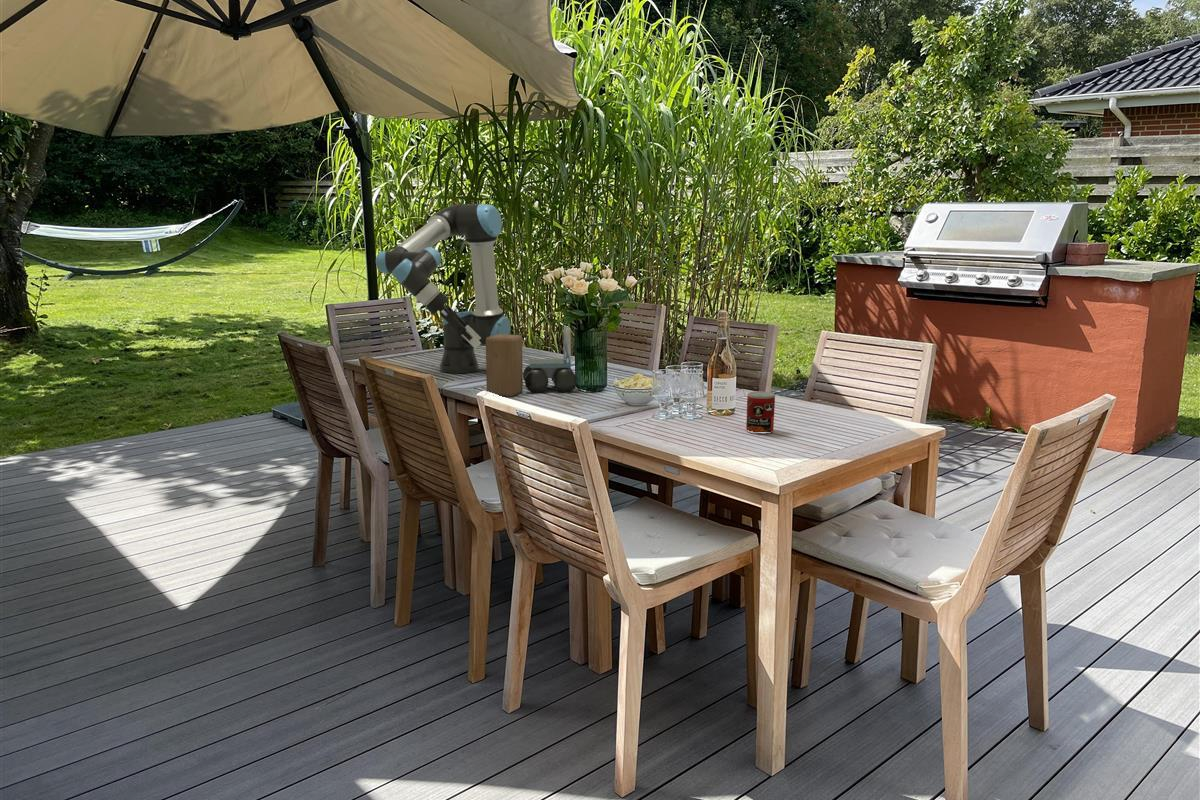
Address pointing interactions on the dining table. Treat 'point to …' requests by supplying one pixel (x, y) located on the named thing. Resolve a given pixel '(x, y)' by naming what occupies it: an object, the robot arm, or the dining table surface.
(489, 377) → the wooden block
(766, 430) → the canned food
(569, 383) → the trolley
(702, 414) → the dining table surface
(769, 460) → the dining table surface
